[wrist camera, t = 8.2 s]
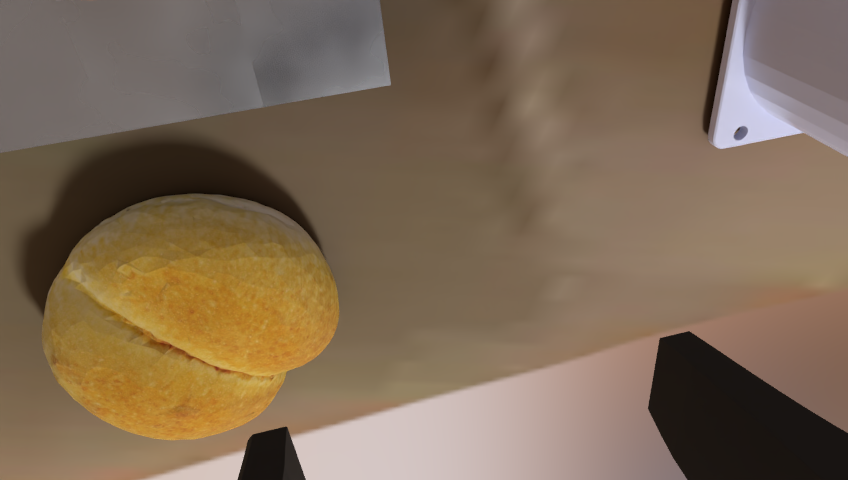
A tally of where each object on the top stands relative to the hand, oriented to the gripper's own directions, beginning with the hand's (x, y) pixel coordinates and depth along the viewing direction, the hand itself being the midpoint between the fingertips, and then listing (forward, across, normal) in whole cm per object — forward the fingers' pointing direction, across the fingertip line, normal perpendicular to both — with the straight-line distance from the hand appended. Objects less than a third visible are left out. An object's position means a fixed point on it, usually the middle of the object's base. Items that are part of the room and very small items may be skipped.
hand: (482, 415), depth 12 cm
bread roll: (+10, +7, +3) cm, 13 cm away
